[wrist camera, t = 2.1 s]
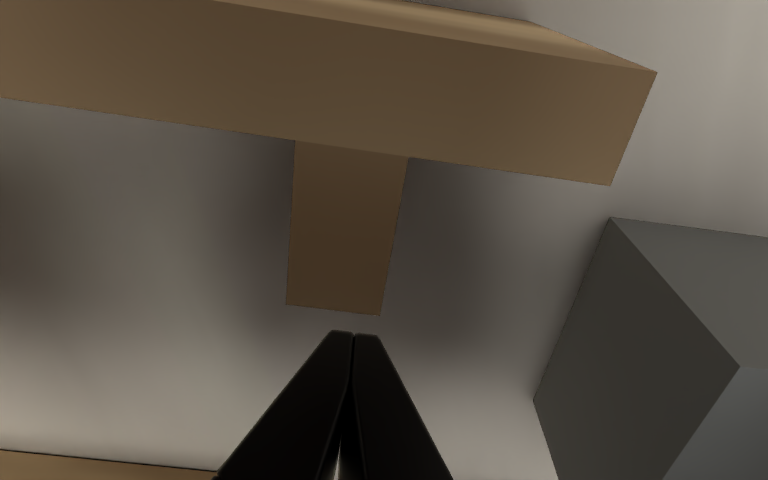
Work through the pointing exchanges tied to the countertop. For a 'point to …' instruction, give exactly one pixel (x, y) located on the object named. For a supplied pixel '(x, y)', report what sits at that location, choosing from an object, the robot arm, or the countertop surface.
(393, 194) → the corral
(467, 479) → the countertop surface
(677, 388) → the block
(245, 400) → the countertop surface
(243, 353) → the countertop surface
